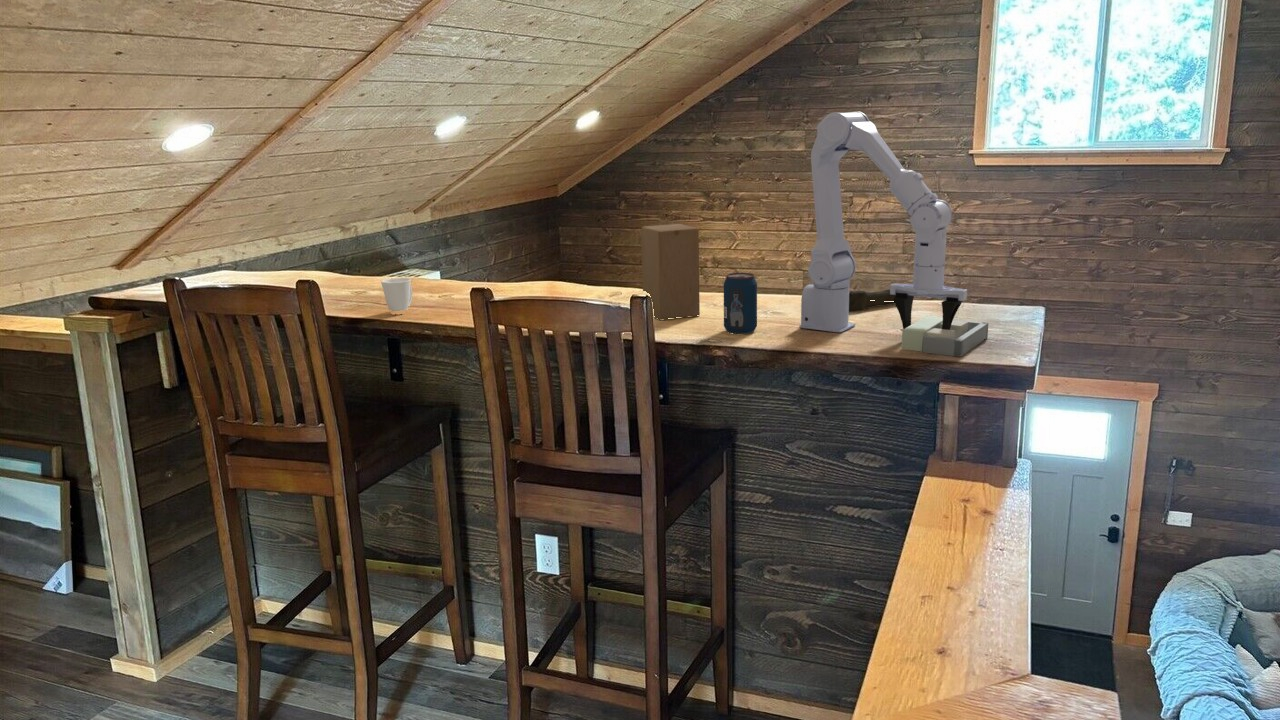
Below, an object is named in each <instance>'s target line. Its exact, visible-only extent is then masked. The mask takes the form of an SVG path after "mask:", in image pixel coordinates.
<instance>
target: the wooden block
mask: <svg viewBox="0 0 1280 720" xmlns="http://www.w3.org/2000/svg"><path fill="white" fill-rule="evenodd" d="M699 230H700V229H699V228H698V227H694V226H690V225H687V224H686V225H685V224H684V223H683V224H682V223H670V224H659V225H658V224H657V225H648V226H646V225H645V226H641V230H640V234H641V236H640V237H641V240H640V241H641V267H642V271H641V273H642V292H643V291H646V292H647V293H649V294H650V296H651V299H652V302H653V309H654V316H655V318H654V319H656V318H658V319H668V318H676V317H687V316H696V317H698V316H697V315H699V316H700V314H701V312H700V310H701V309H700V253H699V252H700V246H699V245H700V244H699V242H700V241H699V239H700V237H699V235H700V234H699V233H700V232H699ZM658 319H657V320H658Z"/></svg>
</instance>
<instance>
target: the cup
mask: <svg viewBox="0 0 1280 720" xmlns="http://www.w3.org/2000/svg"><path fill="white" fill-rule="evenodd" d="M411 280H412V279H411V278H407V277H392V278H386V279H382V281H381V282H380V283H381V287H382V290H383V295H384V299H385V303H386V305H387V308H388V310H389V311H390V310H392V311H402V310H407V311H408V309H409V308H408V306H409V307H410V305H411V303H412V300H413V289H412V284H411ZM392 311H391V312H392Z"/></svg>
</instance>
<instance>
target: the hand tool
mask: <svg viewBox="0 0 1280 720" xmlns="http://www.w3.org/2000/svg"><path fill="white" fill-rule="evenodd" d="M895 296H896V295H891V294H890V289H885V290H880V291H875V292H867V291H864V290H857V291H849V313H850V312H851V313H854V312H861V311H862V312H863V311H866V309H868V308H871V307H872V308H874V307H879V306H885V305H886V306H887V305H895V303H894V302H884V301H893V298H895ZM870 300H875V301H870Z"/></svg>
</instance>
